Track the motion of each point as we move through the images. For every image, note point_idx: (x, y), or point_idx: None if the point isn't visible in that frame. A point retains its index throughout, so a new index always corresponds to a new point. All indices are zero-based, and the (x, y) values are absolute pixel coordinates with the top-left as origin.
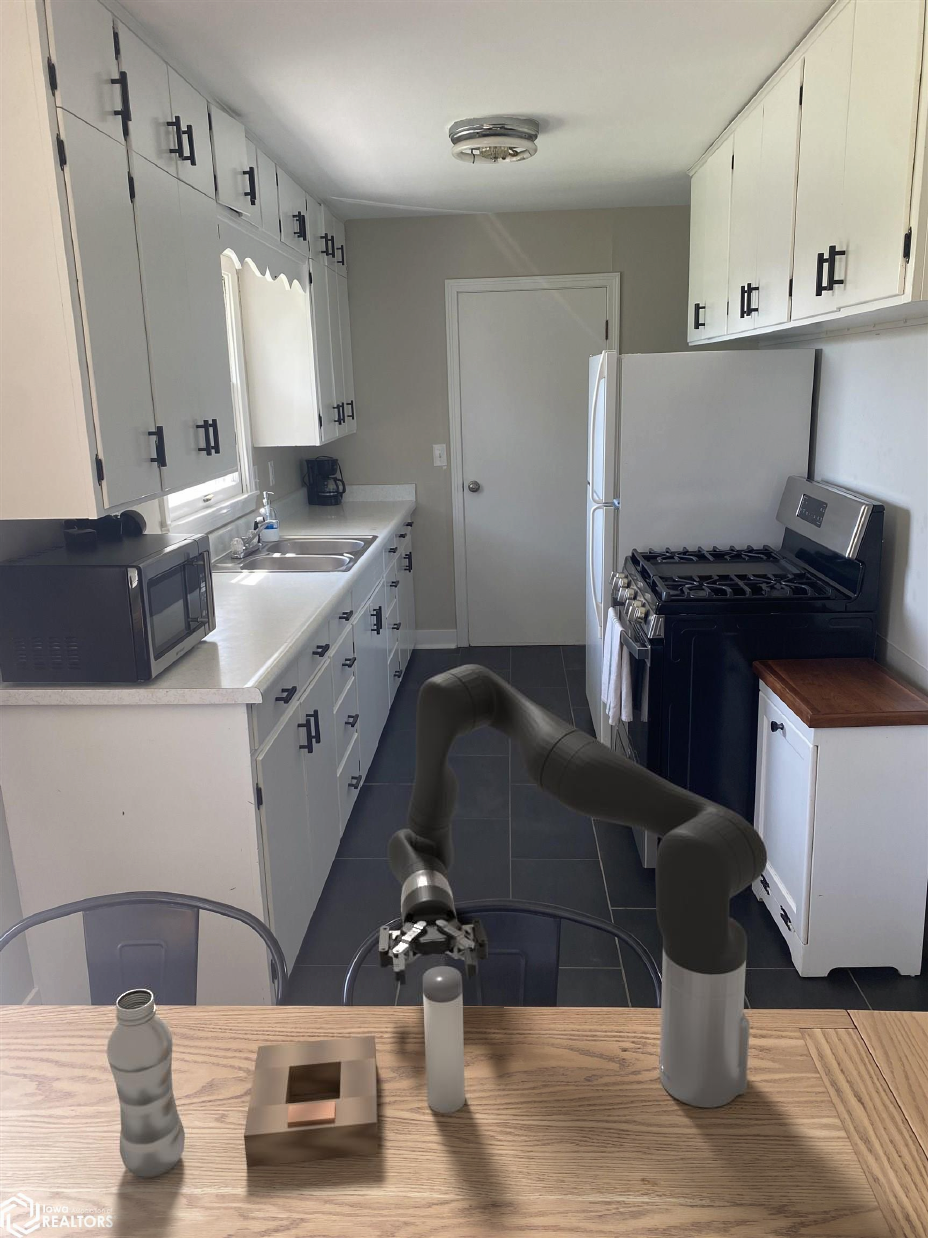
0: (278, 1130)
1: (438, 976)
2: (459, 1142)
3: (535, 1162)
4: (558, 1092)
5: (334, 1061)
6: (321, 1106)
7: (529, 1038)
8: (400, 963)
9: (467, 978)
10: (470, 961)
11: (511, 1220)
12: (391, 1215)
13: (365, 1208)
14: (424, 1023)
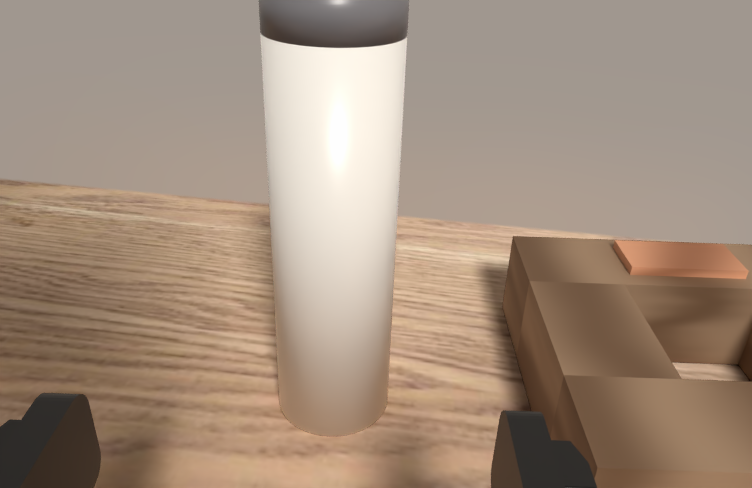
0: (734, 245)
1: None
2: None
3: (189, 262)
4: (19, 375)
5: (705, 380)
6: (661, 260)
7: None
8: (548, 468)
9: (95, 473)
10: (37, 409)
11: None
12: (462, 232)
13: (508, 243)
14: (400, 157)
